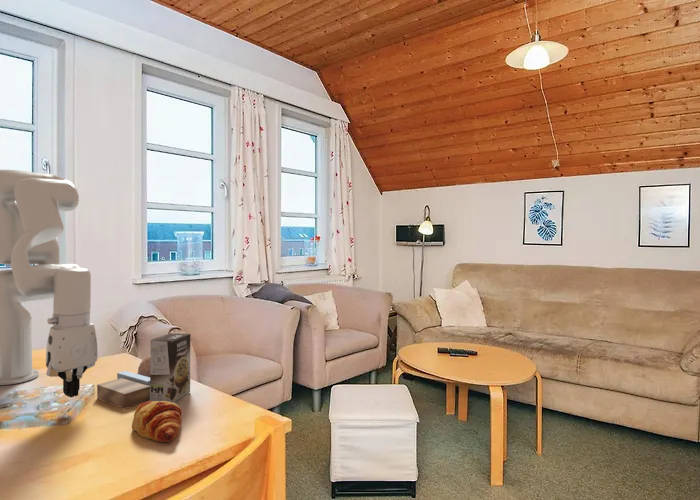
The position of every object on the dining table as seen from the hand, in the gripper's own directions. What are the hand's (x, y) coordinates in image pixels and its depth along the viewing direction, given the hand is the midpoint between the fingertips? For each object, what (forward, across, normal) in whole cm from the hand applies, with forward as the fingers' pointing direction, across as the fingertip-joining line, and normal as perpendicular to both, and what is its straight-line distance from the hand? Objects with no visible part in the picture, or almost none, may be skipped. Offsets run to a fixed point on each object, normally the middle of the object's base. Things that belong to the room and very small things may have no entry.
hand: (71, 395), depth 110 cm
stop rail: (+4, +16, -1) cm, 17 cm away
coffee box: (+4, +19, -12) cm, 23 cm away
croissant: (+4, +5, -26) cm, 26 cm away
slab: (+4, +11, -3) cm, 13 cm away
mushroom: (+4, +23, +2) cm, 23 cm away
